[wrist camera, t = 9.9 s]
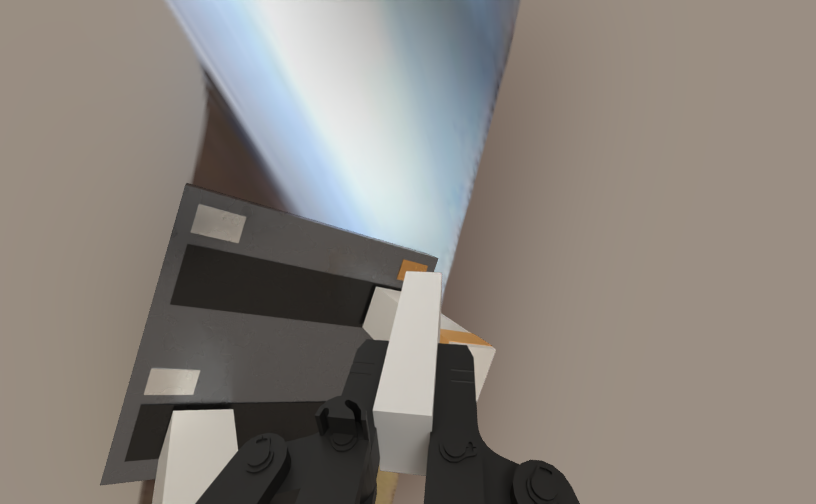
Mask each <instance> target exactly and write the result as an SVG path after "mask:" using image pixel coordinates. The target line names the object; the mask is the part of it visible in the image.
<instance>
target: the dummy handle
mask: <svg viewBox="0 0 816 504" xmlns="http://www.w3.org/2000/svg"><path fill="white" fill-rule="evenodd" d="M237 451H238V446H237V437H236V429H235V421H234V412H233V409H223V410H183V411H173V413H172V416H171V420H170V423H169V427H168V430H167V433H166V437H165V440H164V443H163V447H162V450H161V454H160V457H159V460H158V467H157V474H156V481H155V488H154V495H153V501H152V504H195V503H196V502H197V501H198V499H199V498H200V497H201V496H202V494H203V493H204V492H205V491H206V489H207V488H208V487H209V486H210V485H211V483H212V482H213V481H214V480H215V478H216V477H217V476H218V475H219V473H220V472H221V471H222V470H223V468H224V467H225V466H226V465H227V463H228V462H229V461H230V460H231V459H232V457H233V456H234V455H235V454H236V452H237Z"/></svg>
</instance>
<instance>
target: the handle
mask: <svg viewBox="0 0 816 504" xmlns="http://www.w3.org/2000/svg"><path fill="white" fill-rule="evenodd" d="M400 295H401V291H396V290H391V289H386V288H381V287H376V288H375V291H374V294H373V297H372V300H371V303H370V306H369V309H368V312H367V315H366V318H365V321H364V324H363V328H364V330H365V331H366V332H367V333H368V334H369V335H370V336H371V337H372V338H373V339H374V340H386V341H390V336H391V332H392V328H393V324H394V320H395V316H396V311H397V307H398V303H399V299H400ZM440 343H443V344H458V345H467V346H468V348H469V350H470V351H471V353H472V355H473V357H474V373H475V388H476V402H477V400H478V398H479V395H480V392H481V389H482V387H483V384H484V382H485V379H486V376H487V373H488V371H489V368H490V365H491V362H492V360H493V357H494V354H495V352H496V349H494V348H493V347H492V345H490V344H489V343H487V342H486V341H484V340H482V339H481V338H479V337H478V336H476V335H475V334H473V333H470V332H469V331H467V330H466V329H464V328H463V327H461V326H460V325H458V324H457V323H455V322H453V321H452V320H451V319H449V318H447V317H446V316H444V315H443V314H441V329H440Z"/></svg>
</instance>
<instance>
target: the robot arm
mask: <svg viewBox="0 0 816 504" xmlns="http://www.w3.org/2000/svg"><path fill="white" fill-rule="evenodd" d="M441 293H442V273H439V272H414V271H406V274H405V278H404V282H403V286H402V291H401V295H400V299H399V303H398V307H397V311H396V316H395V320H394V324H393V328H392V332H391V336H390V341H386V340H371V339H366V340H365V341H364V343H363V344H362V345H361V346H360V347H359V348H358V349H357V351H356V354H355V357H354V360H353V364H352V366H351V369H350V372H349V375H348V377H347V380H346V383H345V386H344V389H343V392H342V395H341V396H337V397H334V398H332V399H329V400H328V401H326V402H325V403H324V404H323V405H322V406H320V408H319V409H318V411H317V412H316V414H315V419H316V423H317V426H318V430H319V432H317V433H316V434H314V435H311V436H308V437H304V438H300V439H295V440H291V441H286V442H285V441H284V439H283V438H282V437H281V436H279V435H278V434H274V433H265V434H260V435H257V436H255V437H254V438H252V439H250V440H248V441H247V442H246V443H245V444H244V445H243V446H242V447H241V448H240V449H239V450H238V451H237V452H236V454H235V455H234V456H233V457H232V459H231V460H230V461H229V462H228V463H227V465H226V466H225V467H224V468H223V470H222V471H221V472H220V473H219V475H218V476H217V477H216V478H215V480H214V481H213V482H212V483H211V485H210V486H209V487H208V488H207V489H206V491H205V492H204V493H203V494H202V496H201V497H200V498H199V499H198V501H197V502H196V503H195V504H375V500H376V495H377V483H376V478H377V472H378V467H379V464H380V471H388V472H396V473H405V474H414V475H423V476H426V483H425V496H424V504H580V503H579V501H578V499H577V497H576V495H575V493H574V491H573V489H572V487H571V486H570V484H569V482H568V481H567V480H566V478H565V476H564V475H563V474H562V473H561V472H560V471H559V470H558V469H556V468H555V467H554V466H553V465H550V464H548V463H546V462H543V461H539V460H529V461H526V462H524V463H521V464H520V465H519V464H517V463H515V462H513V461H510V460H508V459H506V458H504V457H502V456H500V455H498V454H496V453H495V452H493V451H492V450H491V449H490V448H489V447H488V446H487V445H486V444H485V442H484V441H483V440H482V438H481V436H480V433H479V430H478V423H477V405H476V388H475V373H474V357H473V355H472V353H471V351H470V350H469V348H468V346H467V345H458V344H443V343H440V329H441Z"/></svg>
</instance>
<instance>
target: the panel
mask: <svg viewBox="0 0 816 504" xmlns="http://www.w3.org/2000/svg"><path fill="white" fill-rule="evenodd" d="M437 261H438V258H436V257H434V256H432V255H429V254H427V253H423V252H420V251H416V250H413V249H410V248H406V247H403V246H400V245H396V244H393V243H389V242H386V241H383V240H379V239H376V238H372V237H369V236H366V235H362V234H359V233H355V232H352V231H349V230H345V229H342V228H338V227H335V226H332V225H328V224H325V223H321V222H318V221H315V220H311V219H308V218H304V217H301V216H298V215H294V214H291V213H288V212H284V211H281V210H277V209H274V208H271V207H267V206H264V205H260V204H257V203H254V202H250V201H247V200H243V199H240V198H237V197H233V196H230V195H226V194H223V193H220V192H216V191H213V190H209V189H206V188H203V187H199V186H196V185H193V184H189V183H186V185H185V188H184V192H183V196H182V199H181V202H180V206H179V209H178V213H177V216H176V220H175V223H174V227H173V230H172V234H171V238H170V241H169V245H168V248H167V252H166V255H165V259H164V262H163V266H162V269H161V273H160V276H159V280H158V283H157V287H156V290H155V294H154V298H153V301H152V304H151V308H150V311H149V315H148V318H147V322H146V325H145V329H144V333H143V336H142V339H141V343H140V346H139V350H138V354H137V357H136V361H135V364H134V367H133V371H132V375H131V378H130V382H129V386H128V389H127V392H126V396H125V399H124V403H123V406H122V410H121V413H120V417H119V420H118V424H117V427H116V431H115V434H114V438H113V441H112V445H111V448H110V452H109V455H108V459H107V462H106V466H105V470H104V473H103V476H102V480H101V483H100V485H107V484H116V483H125V482H134V481H142V480H151V479H156V474H157V467H158V460H159V457H160V454H161V450H162V447H163V443H164V440H165V437H166V433H167V430H168V427H169V423H170V420H171V416H172V413H173V411H183V410H223V409H233V412H234V421H235V429H236V437H237V446H238V450H239V449H240V448H241V447H242V446H243V445H244V444H245V443H246V442H247V441H248V440H250V439H252V438H254V437H255V436H257V435H260V434H265V433H274V434H278V435H279V436H281V437H282V438H283V439H284V441H285V442H286V441H291V440H295V439H300V438H304V437H308V436H311V435H314V434H316V433H317V432H319V430H318V426H317V423H316V419H315V414H316V412H317V411H318V409H319V408H320V406H322V405H323V404H324V403H325V402H326V401H328V400H329V399H332V398H334V397H337V396H341V395H342V392H343V389H344V386H345V383H346V380H347V377H348V375H349V372H350V369H351V366H352V364H353V360H354V357H355V354H356V351H357V349H358V348H359V347H360V346H361V345H362V344H363V343H364V341H365V340H366V339H371V340H374V339H373V338H372V337H371V336H370V335H369V334H368V333H367V332H366V331H365V330H364V328H363V324H364V321H365V318H366V315H367V312H368V309H369V306H370V303H371V300H372V297H373V294H374V291H375V288H376V287H381V288H386V289H391V290H396V291H402V286H403V282H404V278H405V274H406V271H414V272H434V269H435V267H436V264H437Z"/></svg>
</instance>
